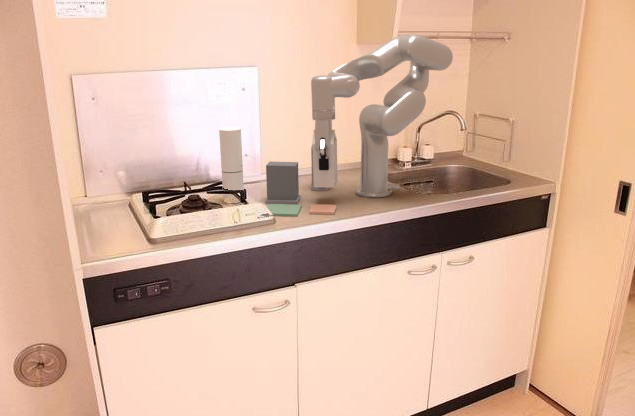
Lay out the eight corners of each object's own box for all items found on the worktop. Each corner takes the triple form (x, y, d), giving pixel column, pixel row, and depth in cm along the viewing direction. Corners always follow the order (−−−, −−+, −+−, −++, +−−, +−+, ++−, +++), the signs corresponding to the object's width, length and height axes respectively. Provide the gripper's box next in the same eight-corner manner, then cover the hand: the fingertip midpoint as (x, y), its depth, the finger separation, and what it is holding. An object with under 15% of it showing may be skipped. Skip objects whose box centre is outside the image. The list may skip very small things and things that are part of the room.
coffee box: (312, 184, 206) (311, 143, 201) (328, 184, 206) (328, 143, 201) (311, 190, 197) (311, 147, 192) (328, 190, 197) (328, 147, 192)
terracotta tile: (336, 207, 178) (336, 204, 177) (334, 214, 170) (334, 212, 170) (312, 206, 179) (312, 204, 178) (309, 214, 171) (309, 211, 171)
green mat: (301, 207, 178) (301, 204, 178) (297, 216, 169) (297, 214, 168) (269, 206, 179) (269, 203, 179) (262, 215, 170) (262, 213, 169)
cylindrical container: (246, 197, 188) (243, 127, 181) (241, 203, 182) (237, 130, 174) (226, 197, 189) (222, 127, 182) (221, 203, 182) (216, 130, 175)
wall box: (300, 197, 189) (300, 161, 185) (297, 204, 181) (296, 166, 177) (269, 196, 190) (268, 160, 186) (265, 203, 182) (263, 166, 178)
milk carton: (334, 188, 179) (332, 131, 172) (313, 187, 180) (311, 131, 174) (337, 182, 185) (336, 127, 179) (317, 181, 187) (315, 127, 180)
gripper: (315, 110, 184) (317, 160, 189) (308, 119, 167) (311, 173, 173) (337, 110, 183) (338, 160, 188) (332, 118, 166) (334, 173, 172)
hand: (325, 166), depth 181 cm, fingers closed on milk carton, 7 cm apart
